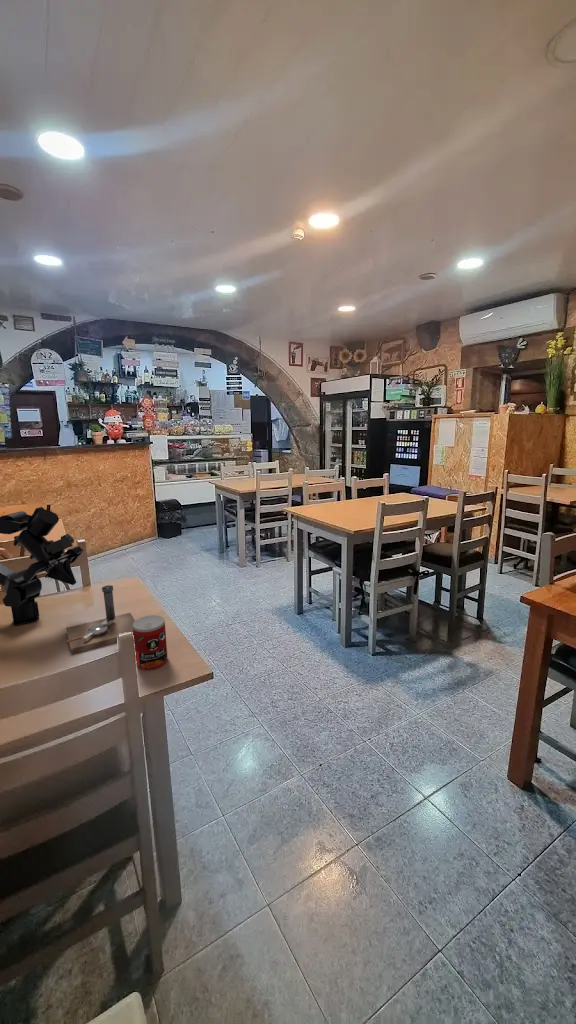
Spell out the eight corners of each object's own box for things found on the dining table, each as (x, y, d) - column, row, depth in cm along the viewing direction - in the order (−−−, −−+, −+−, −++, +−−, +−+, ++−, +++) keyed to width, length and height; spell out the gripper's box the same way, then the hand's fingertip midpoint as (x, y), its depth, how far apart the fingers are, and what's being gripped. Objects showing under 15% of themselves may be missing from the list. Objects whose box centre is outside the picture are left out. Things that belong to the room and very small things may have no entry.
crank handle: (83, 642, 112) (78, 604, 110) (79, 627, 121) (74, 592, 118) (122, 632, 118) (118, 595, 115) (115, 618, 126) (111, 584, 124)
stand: (68, 654, 110) (68, 649, 109) (64, 633, 121) (63, 627, 121) (141, 635, 119) (141, 629, 119) (130, 616, 131) (130, 611, 131)
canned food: (138, 674, 101) (134, 632, 99) (134, 658, 108) (130, 618, 106) (170, 665, 104) (167, 625, 102) (164, 650, 111) (161, 612, 109)
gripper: (25, 536, 112) (66, 578, 112) (74, 520, 130) (109, 556, 130) (5, 562, 115) (45, 603, 115) (56, 543, 133) (90, 579, 133)
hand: (74, 583), depth 123 cm, fingers closed
